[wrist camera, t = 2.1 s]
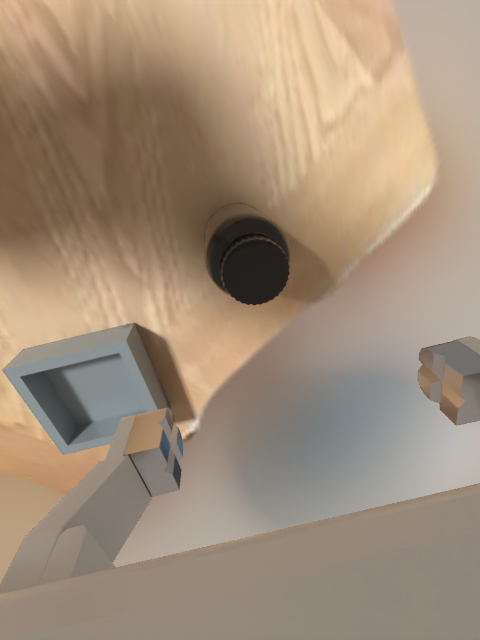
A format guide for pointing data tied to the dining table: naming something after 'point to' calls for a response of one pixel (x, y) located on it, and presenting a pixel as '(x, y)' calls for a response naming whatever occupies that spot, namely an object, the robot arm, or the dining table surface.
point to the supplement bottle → (246, 254)
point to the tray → (87, 385)
